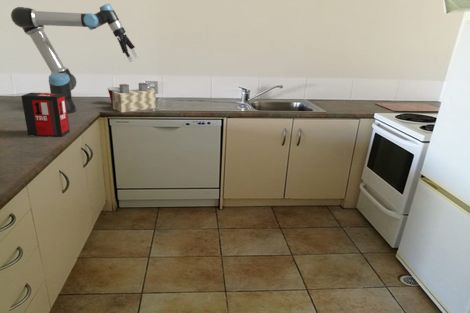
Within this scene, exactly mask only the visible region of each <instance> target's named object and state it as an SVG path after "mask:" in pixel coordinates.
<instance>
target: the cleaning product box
mask: <svg viewBox="0 0 470 313" xmlns="http://www.w3.org/2000/svg"><path fill="white" fill-rule="evenodd" d="M20 97H21V102H22V108H23V109H22V110H23V113H24V119H25V125H26V131H27V136H28V135H34V136H33V137H48V136H52V137H53V138H57V137H58V138H63V137H65V136H66V135H68V134H70V133H71V131H70V130H71V129H70V123H69V117H68V116H69V115H68V114H69V113H67V107H66V99H65V94H54V93H51V92H50V93H49V92H28V93H26V94H22V95H21V96H20Z"/></svg>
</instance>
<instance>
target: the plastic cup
mask: <svg viewBox="0 0 470 313" xmlns="http://www.w3.org/2000/svg"><path fill="white" fill-rule="evenodd" d="M106 89H107V91H108V94H109V98H110V102H111V105H112V106H113V98H112V92H113V91H120V86H118V87H117V86H110V87H107V88H106Z"/></svg>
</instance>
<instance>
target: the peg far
mask: <svg viewBox="0 0 470 313" xmlns="http://www.w3.org/2000/svg"><path fill="white" fill-rule="evenodd" d="M148 86H149V85H148V83H146V82H138V89H139V91H148V89H149V88H148Z"/></svg>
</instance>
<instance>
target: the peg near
mask: <svg viewBox="0 0 470 313" xmlns="http://www.w3.org/2000/svg"><path fill="white" fill-rule="evenodd" d="M118 87H120V92H121V93H129V90H130V85H129V84H127V83H120V84H119V86H118Z"/></svg>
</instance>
